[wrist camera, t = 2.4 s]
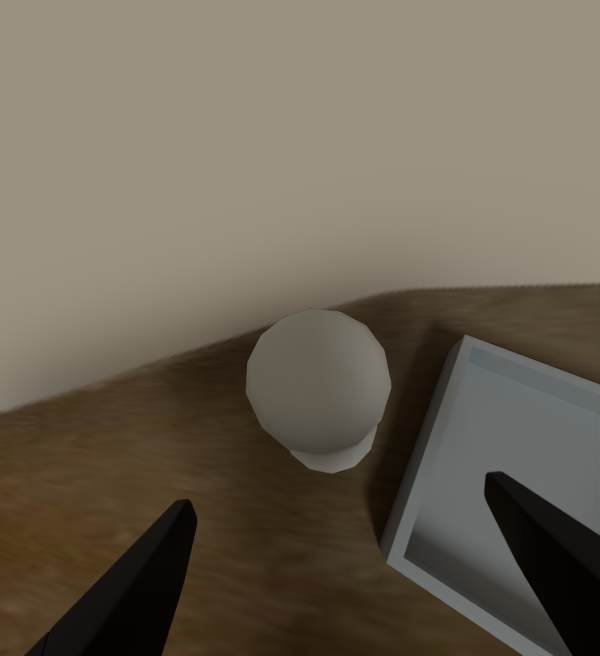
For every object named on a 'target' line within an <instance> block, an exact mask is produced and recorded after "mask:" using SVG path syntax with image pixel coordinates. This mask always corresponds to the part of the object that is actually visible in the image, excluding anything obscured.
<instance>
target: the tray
mask: <svg viewBox="0 0 600 656" xmlns="http://www.w3.org/2000/svg"><path fill="white" fill-rule="evenodd" d="M493 471H502V472H504V473H506V474H507V475H509V476H510V477H512V478H513V479H515V480H516V481H518V482H520V483H521V484H523V485H524V486H526V487H527V488H529V489H530V490H532V491H533V492H535V493H536V494H538V495H539V496H541V497H542V498H544V499H545V500H547V501H549V502H550V503H552V504H553V505H555V506H556V507H558V508H559V509H561V510H562V511H564V512H565V513H567V514H568V515H570V516H571V517H573V518H574V519H576V520H578V521H579V522H581V523H582V524H584V525H585V526H587V527H588V528H590V529H591V530H593V531H594V532H596V533H597V534H599V535H600V385H599V384H597V383H594V382H591V381H589V380H586V379H583V378H581V377H578V376H575V375H573V374H570V373H567V372H565V371H562V370H559V369H557V368H554V367H551V366H549V365H546V364H543V363H541V362H538V361H535V360H533V359H530V358H527V357H524V356H522V355H519V354H516V353H514V352H511V351H508V350H506V349H503V348H500V347H498V346H495V345H492V344H490V343H487V342H484V341H482V340H479V339H476V338H474V337H471V336H468V335H466V334H465V335H464V336H463V337H462V338H461V339H460V340H459V341H458V342H457V343H456V344H455V345H454V346H453V347H452V348H451V349H450V350H449V351H448V354H447V357H446V360H445V362H444V365H443V368H442V371H441V373H440V376H439V379H438V382H437V384H436V387H435V390H434V393H433V396H432V398H431V401H430V404H429V407H428V409H427V412H426V415H425V418H424V421H423V423H422V426H421V429H420V432H419V434H418V437H417V440H416V443H415V445H414V448H413V451H412V454H411V457H410V459H409V462H408V465H407V468H406V470H405V473H404V476H403V479H402V481H401V484H400V487H399V490H398V493H397V495H396V498H395V501H394V504H393V506H392V509H391V512H390V515H389V518H388V520H387V523H386V526H385V529H384V531H383V534H382V537H381V540H380V542H379V545H378V546H379V548H380V551H381V553H382V555H383V557H384V559H385V561H386V563H387V564H389V565H390V566H392V567H393V568H395V569H396V570H397V571H399V572H400V573H402V574H403V575H405V576H406V577H408V578H409V579H411V580H412V581H414V582H415V583H417V584H418V585H420V586H421V587H423V588H424V589H426V590H427V591H429V592H430V593H432V594H433V595H434V596H436V597H437V598H439V599H440V600H442V601H443V602H445V603H446V604H448V605H449V606H451V607H452V608H454V609H455V610H457V611H458V612H460V613H461V614H463V615H464V616H466V617H467V618H469V619H470V620H471V621H473V622H474V623H476V624H477V625H479V626H480V627H482V628H483V629H485V630H486V631H488V632H489V633H491V634H492V635H494V636H495V637H497V638H498V639H500V640H501V641H503V642H504V643H506V644H507V645H508V646H510V647H511V648H513V649H514V650H516V651H517V652H519V653H520V654H522V655H523V656H572V655H571V653H570V651H569V650H568V648H567V646H566V645H565V643H564V641H563V640H562V638H561V636H560V635H559V633H558V631H557V630H556V628H555V626H554V625H553V623H552V621H551V620H550V618H549V616H548V615H547V613H546V611H545V610H544V608H543V606H542V605H541V603H540V601H539V600H538V598H537V596H536V595H535V593H534V591H533V590H532V588H531V586H530V585H529V583H528V581H527V580H526V578H525V576H524V575H523V573H522V571H521V570H520V568H519V566H518V564H517V563H516V561H515V559H514V557H513V555H512V553H511V551H510V549H509V547H508V545H507V543H506V541H505V539H504V537H503V535H502V533H501V531H500V529H499V527H498V525H497V523H496V521H495V519H494V517H493V514H492V512H491V510H490V508H489V506H488V504H487V502H486V500H485V497H484V485H485V475H486V473H487V472H493Z"/></svg>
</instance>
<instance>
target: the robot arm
mask: <svg viewBox="0 0 600 656" xmlns="http://www.w3.org/2000/svg"><path fill="white" fill-rule="evenodd" d="M484 497H485V500H486V502H487V504H488V506H489V508H490V510H491V512H492V514H493V517H494V519H495V521H496V523H497V525H498V527H499V529H500V531H501V533H502V535H503V537H504V539H505V541H506V543H507V545H508V547H509V549H510V551H511V553H512V555H513V557H514V559H515V561H516V563H517V564H518V566H519V568H520V570H521V571H522V573H523V575H524V576H525V578H526V580H527V581H528V583H529V585H530V586H531V588H532V590H533V591H534V593H535V595H536V596H537V598H538V600H539V601H540V603H541V605H542V606H543V608H544V610H545V611H546V613H547V615H548V616H549V618H550V620H551V621H552V623H553V625H554V626H555V628H556V630H557V631H558V633H559V635H560V636H561V638H562V640H563V641H564V643H565V645H566V646H567V648H568V650H569V651H570V653H571V655H572V656H600V535H599V534H597V533H596V532H594V531H593V530H591V529H590V528H588V527H587V526H585V525H584V524H582V523H581V522H579V521H578V520H576V519H574V518H573V517H571V516H570V515H568V514H567V513H565V512H564V511H562V510H561V509H559V508H558V507H556V506H555V505H553V504H552V503H550V502H549V501H547V500H545V499H544V498H542V497H541V496H539V495H538V494H536V493H535V492H533V491H532V490H530V489H529V488H527V487H526V486H524V485H523V484H521V483H520V482H518V481H516V480H515V479H513V478H512V477H510V476H509V475H507V474H506V473H504V472H502V471H493V472H487V473H486V475H485V485H484ZM196 527H197V516H196V513H195V511H194V508H193V505H192V503H191V501H190V500H189V499H184V500H177V501H175V502H174V503H173V504H172V505H171V506H170V507H169V508H168V509H167V510H166V511H165V512H164V513H163V514H162V515H161V516H160V517H159V518H158V519H157V520H156V521H155V522H154V523H153V524H152V526H151V527H150V528H149V529H148V530H147V531H146V532H145V533H144V534H143V535H142V536H141V537H140V538H139V539H138V540H137V541H136V542H135V543H134V544H133V545H132V546H131V547H130V548H129V549H128V550H127V551H126V552H125V553H124V554H123V555H122V556H121V557H120V558H119V559H118V560H117V561H116V562H115V563H114V564H113V565H112V566H111V567H110V568H109V570H108V571H107V572H106V573H105V574H104V575H103V576H102V577H101V578H100V579H99V580H98V581H97V582H96V583H95V584H94V585H93V586H92V587H91V588H90V589H89V590H88V591H87V592H86V593H85V594H84V595H83V596H82V597H81V598H80V599H79V600H78V601H77V602H76V603H75V604H74V605H73V606H72V607H71V608H70V609H69V610H68V611H67V612H66V614H65V615H64V616H63V617H62V618H61V619H60V620H59V621H58V622H57V623H56V624H55V625H54V626H53V627H52V628H51V630H50V632H47V633H46V634H45V635H44V636H43V637H42V638H41V639H40V640H39V641H38V642H37V643H36V644H35V645H34V646H33V647H32V648H31V649H30V650H29V651H28V652H27V653H26V654H25V655H24V656H161V655H162V652H163V649H164V646H165V643H166V639H167V636H168V633H169V630H170V627H171V623H172V620H173V617H174V614H175V611H176V608H177V604H178V601H179V598H180V595H181V591H182V588H183V584H184V580H185V576H186V572H187V567H188V563H189V559H190V554H191V550H192V545H193V541H194V536H195V532H196Z"/></svg>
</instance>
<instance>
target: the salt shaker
mask: <svg viewBox="0 0 600 656" xmlns="http://www.w3.org/2000/svg"><path fill="white" fill-rule="evenodd" d="M390 390H391V380H390V375H389V370H388V366H387V361H386V356H385V351H384V349H383V348H382V346H381V345H380V344H379V342H378V341H377V340H376V338H375V337H374V336H373V334H372V333H371V331H370V330H369V329H368V327H367V326H366V325H364V324H362V323H360V322H359V321H357V320H355V319H353V318H351V317H349V316H347V315H345V314H343V313H341V312H339V311H329V310H319V309H308V310H305V311H302V312H299V313H296V314H292V315H289V316H286V317H283V318H282V319H281V320H279V321H278V322H277V323H276V324H274V325H273V326H272V327H271V328H269V329H268V330H267V331H266V332H265V333H263V334H262V335H261V336H260V338H259V340H258V342H257V344H256V346H255V348H254V350H253V352H252V354H251V356H250V358H249V360H248V362H247V379H246V394H247V397H248V399H249V401H250V403H251V405H252V408H253V410H254V412H255V414H256V416H257V418H258V421H259V423H260V425H261V427H262V428H263V429H264V430H265V431H266V432H268V433H269V434H270V435H271V436H272V437H274V438H275V439H276V440H277V441H278V442H280V443H281V444H282V445H283V446H284V447H286V448H287V449H288V450H290V452H291V454H292V455H293V456H294V457H296V458H297V459H298V460H299V461H300V462H302V463H303V464H304V465H305V466H306V467H308V468H309V469H312V470H317V471H322V472H327V473H336V472H339V471H342V470H345V469H349V468H352V467H355V466H356V465H357V464H358V463H359V462H360V460H361V459H362V458H363V457H364V456H365V455H366V454H367V453H368V452H369V451H370V450H371V447H372V444H373V440H374V437H375V434H376V430H377V424H378V423H379V422H380V421H381V420H382V416H383V413H384V410H385V407H386V403H387V400H388V397H389V394H390Z"/></svg>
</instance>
